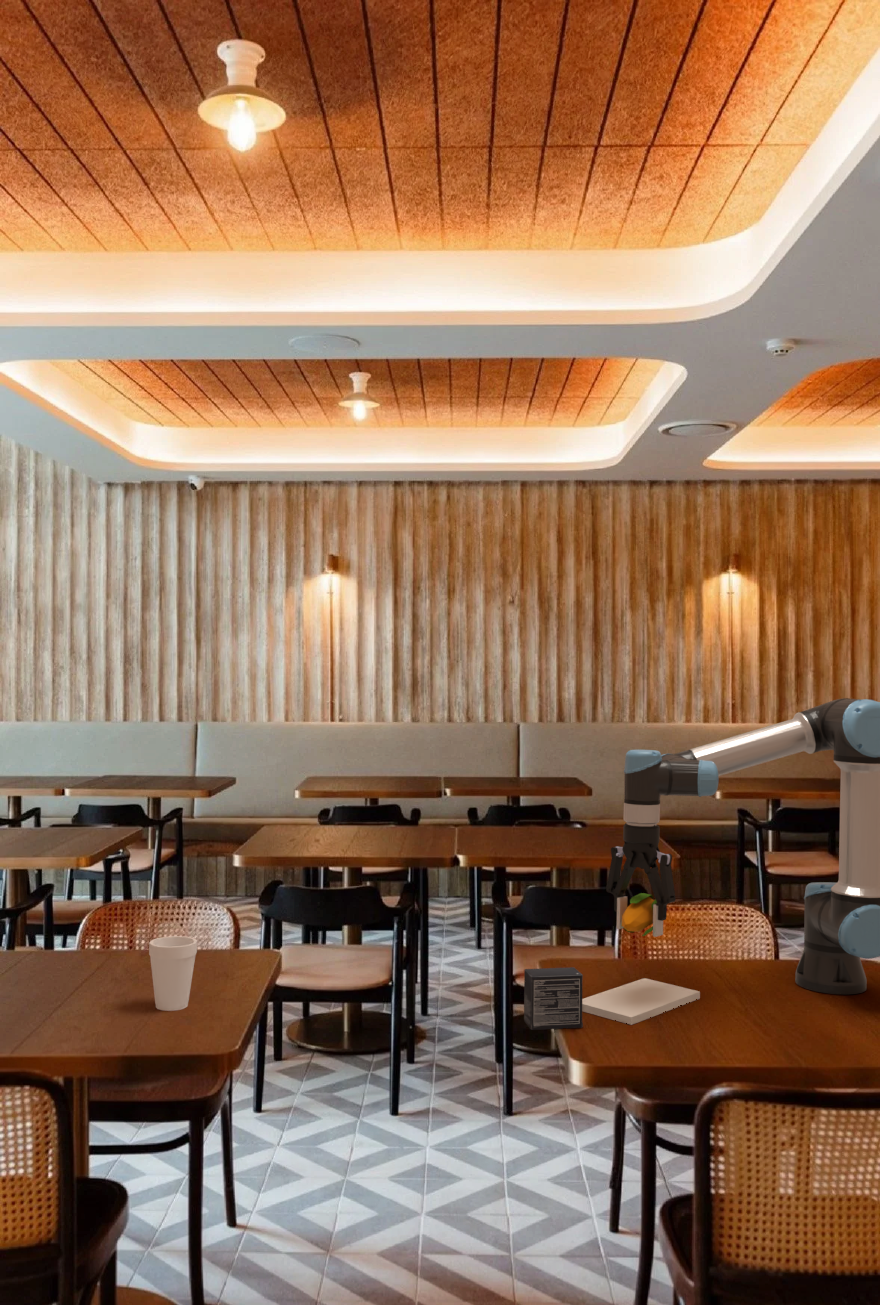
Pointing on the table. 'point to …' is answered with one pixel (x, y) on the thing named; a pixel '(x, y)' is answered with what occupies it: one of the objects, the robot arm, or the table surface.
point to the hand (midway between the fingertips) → (639, 931)
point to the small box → (553, 998)
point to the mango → (639, 914)
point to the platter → (638, 1000)
